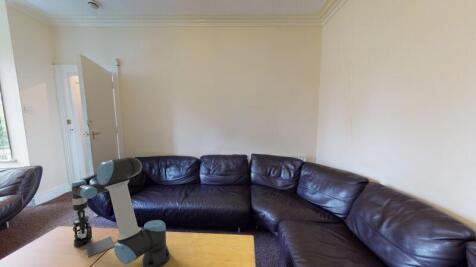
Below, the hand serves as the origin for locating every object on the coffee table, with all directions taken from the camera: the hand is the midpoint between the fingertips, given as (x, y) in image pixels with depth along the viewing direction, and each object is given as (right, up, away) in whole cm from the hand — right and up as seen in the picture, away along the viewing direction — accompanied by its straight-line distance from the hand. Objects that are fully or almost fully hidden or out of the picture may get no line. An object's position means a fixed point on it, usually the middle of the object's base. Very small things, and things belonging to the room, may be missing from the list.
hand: (82, 233), depth 130 cm
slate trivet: (+15, -7, -4) cm, 17 cm away
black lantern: (0, -7, +1) cm, 7 cm away
